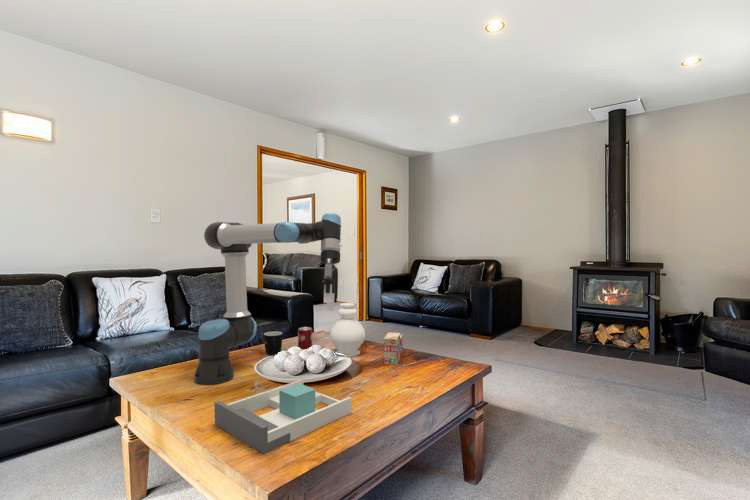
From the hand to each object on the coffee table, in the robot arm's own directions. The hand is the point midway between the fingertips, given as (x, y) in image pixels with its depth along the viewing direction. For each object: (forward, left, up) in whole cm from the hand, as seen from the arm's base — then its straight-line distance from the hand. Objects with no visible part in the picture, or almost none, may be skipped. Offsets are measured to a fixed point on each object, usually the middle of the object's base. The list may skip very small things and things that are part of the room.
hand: (329, 306), depth 146 cm
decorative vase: (+2, +55, -33) cm, 64 cm away
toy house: (+26, +47, -33) cm, 63 cm away
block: (-8, -20, -30) cm, 37 cm away
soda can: (-20, +57, -33) cm, 68 cm away
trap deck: (-12, -19, -33) cm, 40 cm away
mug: (-35, +52, -33) cm, 70 cm away
